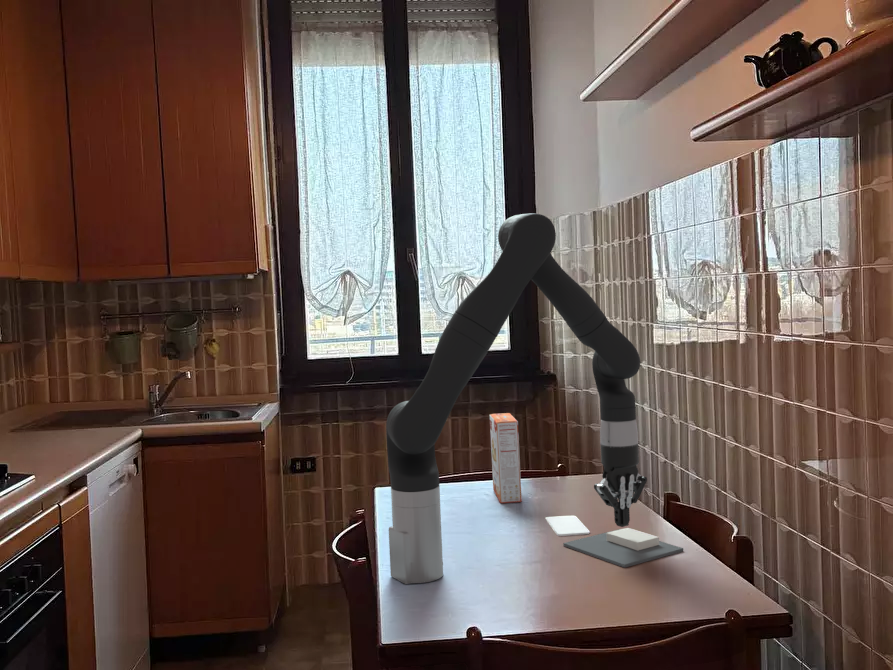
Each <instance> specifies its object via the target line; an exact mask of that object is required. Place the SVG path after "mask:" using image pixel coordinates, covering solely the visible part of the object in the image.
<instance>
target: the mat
mask: <svg viewBox="0 0 893 670" xmlns="http://www.w3.org/2000/svg"><path fill="white" fill-rule="evenodd" d="M620 529H621V528H619V529H614V530H610V531H606V532H602V533H598V534H594V535H590V536H587V537H581V538H579V539H574V540H570V541H566V542H563V544H562V545H563V547H565V548H568V549H570V550H574V551H577V552H580V553H582V554H585V555H588V556H590V557H594V558H597V559H599V560H602V561H604V562H608V563H610V564H613V565H616V566H619V567H622V568H624V569H625V568H628V567H631V566H635V565H639V564H642V563H646V562H651V561H653V560H658V559H661V558H664V557H668V556H670V555H675V554H678V553H682V552H684V547H681V546H677V545H674V544H671V543H667V542H665V541H662V540H659V545H657V546H653V547H649V548H646V549H642V550H638V551H637V550H634V549H631V548H628V547H625V546H622V545H619V544H616V543H613V542H610V541H607V535H606V533H608V532H612V531H616V530H620Z"/></svg>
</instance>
